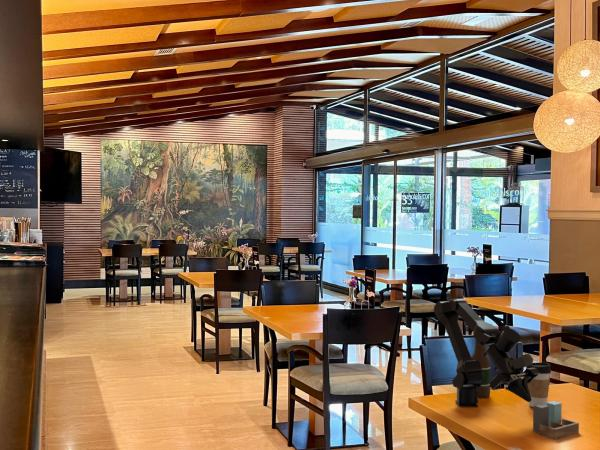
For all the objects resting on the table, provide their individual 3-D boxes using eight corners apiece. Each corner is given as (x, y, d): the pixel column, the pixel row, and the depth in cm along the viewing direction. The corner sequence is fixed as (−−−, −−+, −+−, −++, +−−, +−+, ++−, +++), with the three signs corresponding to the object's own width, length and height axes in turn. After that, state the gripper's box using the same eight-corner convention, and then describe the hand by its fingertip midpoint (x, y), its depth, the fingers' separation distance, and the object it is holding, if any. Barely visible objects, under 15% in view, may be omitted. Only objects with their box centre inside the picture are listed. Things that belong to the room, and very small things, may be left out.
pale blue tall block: (546, 427, 210) (546, 402, 210) (552, 425, 212) (553, 400, 212) (554, 430, 208) (554, 404, 208) (561, 428, 210) (561, 403, 210)
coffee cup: (552, 410, 230) (553, 366, 230) (526, 408, 232) (527, 365, 231) (548, 403, 238) (549, 361, 238) (523, 402, 240) (524, 360, 240)
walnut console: (539, 434, 204) (539, 424, 204) (562, 428, 210) (563, 418, 210) (555, 439, 199) (555, 429, 199) (578, 432, 206) (578, 423, 206)
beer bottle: (478, 399, 242) (479, 333, 242) (464, 394, 249) (465, 330, 249) (494, 397, 246) (495, 332, 246) (479, 392, 253) (480, 329, 252)
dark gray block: (533, 431, 207) (533, 405, 207) (540, 429, 209) (540, 403, 208) (541, 433, 204) (541, 407, 204) (548, 431, 206) (548, 406, 206)
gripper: (497, 348, 209) (526, 391, 200) (534, 342, 219) (564, 383, 210) (477, 368, 215) (504, 411, 206) (515, 362, 226) (542, 402, 217)
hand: (530, 401), depth 210 cm, fingers closed
